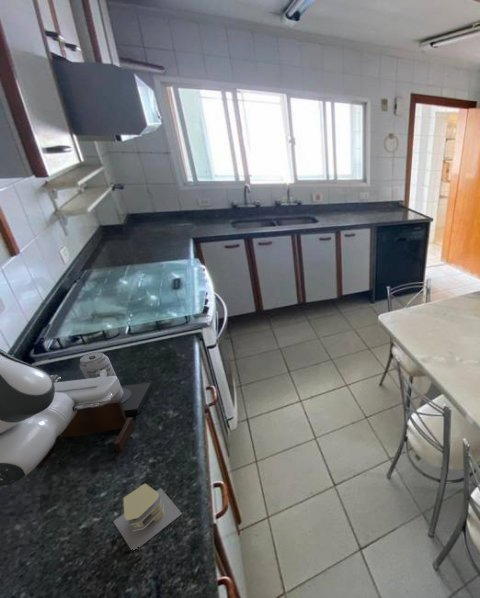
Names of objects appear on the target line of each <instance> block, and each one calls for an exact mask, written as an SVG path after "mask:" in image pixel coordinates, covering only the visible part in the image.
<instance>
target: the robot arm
mask: <svg viewBox="0 0 480 598" xmlns="http://www.w3.org/2000/svg"><path fill="white" fill-rule="evenodd" d="M95 374H96V376H97V378H90V379H85V378H82V379H73V380H66V381H61V376H60V374H52V375H50V374H49V373H47V372H46V371H45V370H43V369H42V368H40V367H37V366H35V365H33V364H31V363H28V362H25V361H23V360H21V359H18V358H16V357H15V356H13V355H11V354H10V353H8V352H6V351H5V350H3V349H1V348H0V487H4V486H8V485H11V484H13V483H16V482H18V481H20V480H22V479H24V478H25V477H26V476H28V475H29V474H30V473H31V472H33V470H35V468H37V467H36V466H37V465H38V464H39V463H40V462H41V460H42V459H43V458H44V457H45V456H46V454H47V453H48V452H49V450H50V449H51V448H52V446H53V445H54V443H55V440H56V437H58V436H59V435H61V433H62V432H63V431H64V430H65V429H66V427H67V426H68V424H69V423H70V422H71V420H72V419H73V418H74V416H75V415H76V413H77V410H83V409H87V408H97V407H99V406H103V405H105V404H106V403H108V402H109V401H110V400H111V399H112V398H113V397H114V396H115V395H116V393H117V392H118V391H119V389H120V387H121V386H122V385H121V382H120V380H119V378H118V376H117V375H116V376H117V377H116V376H108V377H106V376H107V372H106V370H105V369H104V370H98V372H96V373H95ZM120 385H121V386H120Z"/></svg>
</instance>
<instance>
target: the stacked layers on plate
mask: <svg viewBox="0 0 480 598" xmlns="http://www.w3.org/2000/svg"><path fill="white" fill-rule="evenodd" d="M122 499H123V513H122V514H121V515H120V516H118V517H117V518H115V519H114V520H113V521H112V522H113V523H114V525H115V527H116V529H117V530H118V532H119V533H120V534H121V537H122V538H123V540H124V541H125V543H126V544H127V546H128V547H129V549H130V551H131V550H132V549H133V550H135V549H137V550H138V549H139V548H141V547H142V546H143V545H144V544H146V543H147V542H148V541H150V540H151V539H152V538H153V537H155V536H156V535H157V534H159V533H160V532H161V531H162V530H164V529H165V528H166V527H168V526H169V525H170V524H171V523H173V522H174V521H175V520H176V519H178V518H179V517H180V516H181V515H183V513H182V512H181V510H180V509H179V508H178V507H177V506H176V504H175V503H174V502H173V501H172V499H171V498H170V497H169V495H167V494H166V492H165V491H164V490H163V489H162V488H161V487H160V488H158V489H156V490H155V489H154V488H153V487H151V486H150V485H149V484H147V483H144V484H143V483H142V485H140V486H138V488H136V489H134V490H133V491H132V492H130V493H128V494H127V495H126V496H124V497H123V498H122ZM137 547H139V548H137Z"/></svg>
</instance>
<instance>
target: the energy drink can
mask: <svg viewBox="0 0 480 598" xmlns="http://www.w3.org/2000/svg"><path fill="white" fill-rule="evenodd" d="M79 362H80V363H79V369H80V372H81V373H82V375H83V377H84V379H90V378H97V376H96V374H95V373H96V372H98V370H104V369H105V370H106V372H107V376H106V377H108V376H116V377H117V378H118V376H117V374H116V372H115V369H114V367H113V364H112V362H111V360H110V359H109V356H107V355H106V354H104V352H103V351H94V352H90V353H89V352H88V353H87V354H85V355H83V356H82V357H80V359H79ZM120 386H122V385H121V384H120ZM122 395H123V390H122V387H120V389H119V391H118V392H117V393H116V395H115V396H114V397H113V398H112V399H111V400H110V401H115V400H119V399H121V397H122Z"/></svg>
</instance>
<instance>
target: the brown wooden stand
mask: <svg viewBox="0 0 480 598" xmlns="http://www.w3.org/2000/svg"><path fill="white" fill-rule="evenodd" d="M135 427H136V424H135V421H134V418H133V417H127V416H126V415H125V413H124V410H123V407H122V404H121V402H120V400H115V401H109V402H108V403H106V404H105V405H103V406H99V407H97V408H87V409H83V410H77V413H76V415H75V416H74V418H73V419H72V420H71V422H70V423H69V424H68V426H67V427H66V429H65V430H64V431H63V432H62V433H61V434H60V435H59V436H58V437H56V440H55V443H54V445H53V446H52V448H51V449H50V450H49V452H48V453H47V454H46V456H45V457H44V458H43V459H42V460H41V462H40V463H39V464H38V465H37V466H36V467H35V468H38V467H41V466H42V465H43V463H44V462H45V460H46V459H47V458H48V456H49V455H50V453H51V452H52V451H53V449H54V448H55V447H56V445H57V444H58V443H59V441H60V440H61V439H66V438H72V437H78V436H85V435H91V434H92V435H93V434H97V433H102V432H110V431H117V430H120V431H119V433H118V435H117V437H116V439H115V440H114V442H113V446H114V449H115V451H116V453H122V452H123V450H124V448H125V446H126V444H127V442H128V440H129V439H130V436H131V434H132V432H133V430H134V429H135Z"/></svg>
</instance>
